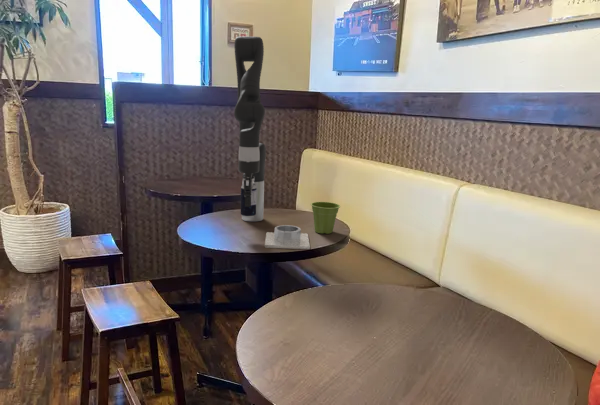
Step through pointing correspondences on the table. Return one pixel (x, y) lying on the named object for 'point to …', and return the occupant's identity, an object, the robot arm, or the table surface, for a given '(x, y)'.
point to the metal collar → (287, 238)
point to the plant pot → (324, 216)
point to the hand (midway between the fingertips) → (248, 204)
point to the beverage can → (251, 210)
